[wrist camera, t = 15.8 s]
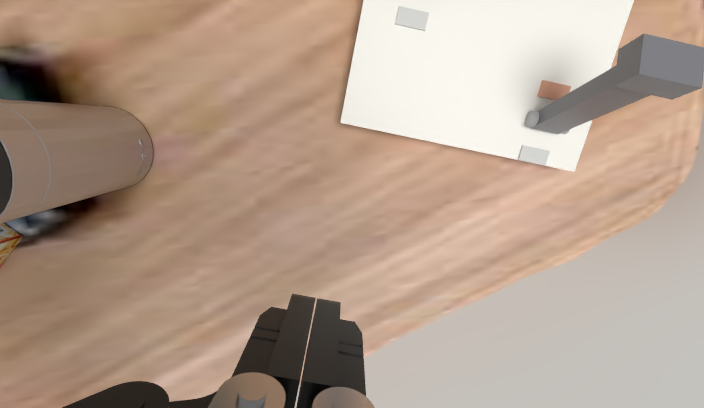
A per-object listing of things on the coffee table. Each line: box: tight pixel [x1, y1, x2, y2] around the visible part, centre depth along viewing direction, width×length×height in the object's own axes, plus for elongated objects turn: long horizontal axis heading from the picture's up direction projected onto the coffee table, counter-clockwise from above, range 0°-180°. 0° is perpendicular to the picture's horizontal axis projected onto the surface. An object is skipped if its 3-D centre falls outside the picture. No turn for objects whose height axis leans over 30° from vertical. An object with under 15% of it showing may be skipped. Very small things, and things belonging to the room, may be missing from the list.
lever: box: [525, 34, 704, 134], centre depth 30 cm, size 4×3×14 cm, turn 78°
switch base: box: [340, 0, 634, 172], centre depth 37 cm, size 26×18×3 cm
